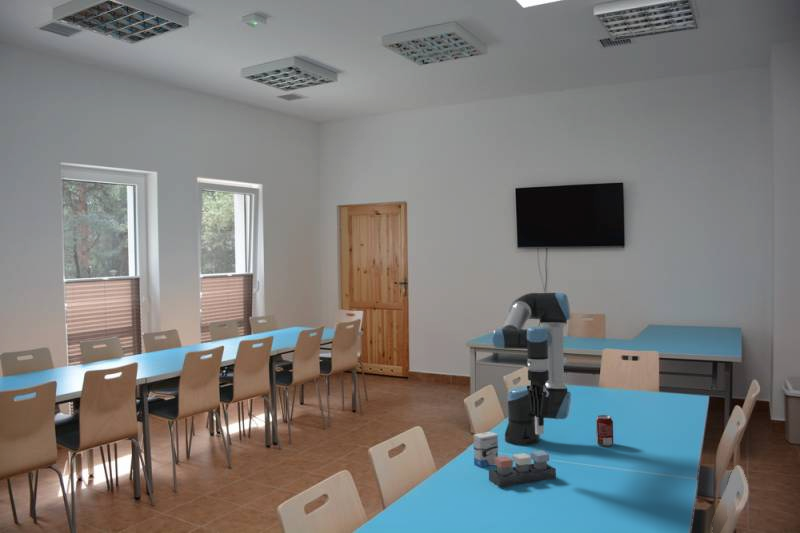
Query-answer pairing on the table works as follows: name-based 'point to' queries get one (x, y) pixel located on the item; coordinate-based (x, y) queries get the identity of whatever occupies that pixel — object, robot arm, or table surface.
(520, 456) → the key white
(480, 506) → the table surface
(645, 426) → the table surface
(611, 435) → the soda can
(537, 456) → the key slate
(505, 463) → the key brick
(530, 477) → the console
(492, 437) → the ink box
